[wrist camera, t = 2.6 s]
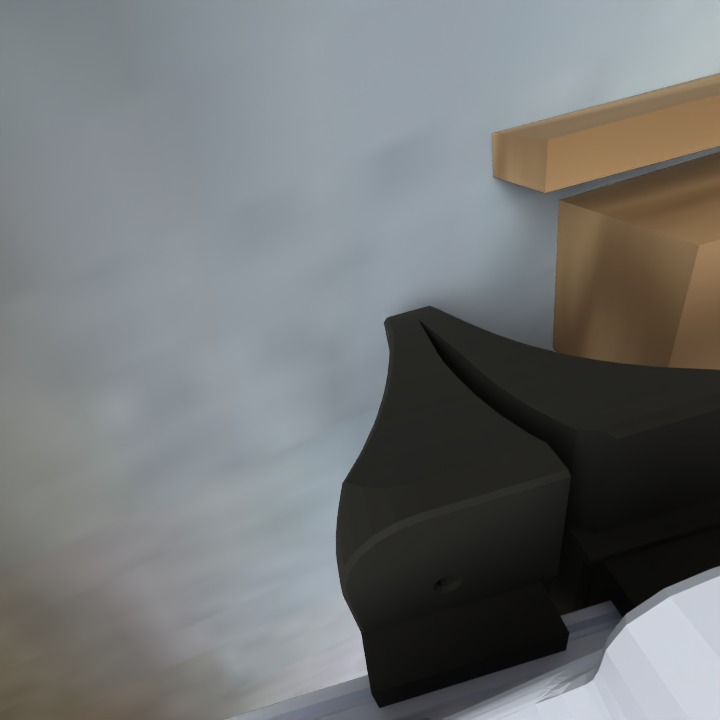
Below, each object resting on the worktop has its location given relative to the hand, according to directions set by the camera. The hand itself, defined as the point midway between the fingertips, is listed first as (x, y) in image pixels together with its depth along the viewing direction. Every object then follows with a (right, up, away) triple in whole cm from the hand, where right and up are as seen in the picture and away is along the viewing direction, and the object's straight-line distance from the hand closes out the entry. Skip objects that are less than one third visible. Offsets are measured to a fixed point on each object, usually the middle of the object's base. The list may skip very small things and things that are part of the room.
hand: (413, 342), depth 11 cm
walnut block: (+7, +3, +1) cm, 8 cm away
